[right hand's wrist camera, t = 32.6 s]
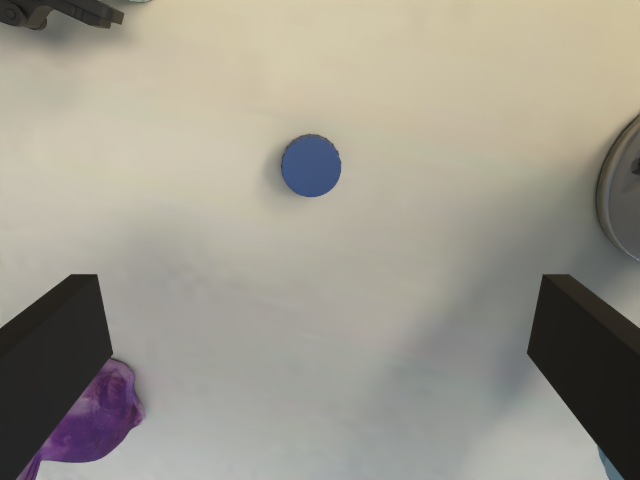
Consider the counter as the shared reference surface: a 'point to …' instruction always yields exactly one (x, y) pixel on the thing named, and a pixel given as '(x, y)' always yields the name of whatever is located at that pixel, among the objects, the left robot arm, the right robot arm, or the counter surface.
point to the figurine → (93, 420)
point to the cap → (311, 165)
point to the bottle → (140, 0)
